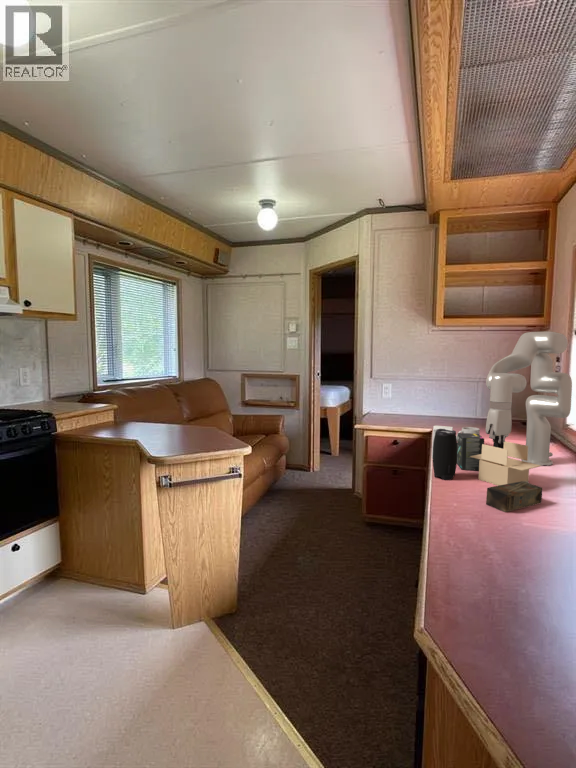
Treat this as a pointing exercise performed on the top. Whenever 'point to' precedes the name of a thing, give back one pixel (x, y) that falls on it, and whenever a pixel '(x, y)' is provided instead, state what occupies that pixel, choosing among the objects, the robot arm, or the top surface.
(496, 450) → the flap
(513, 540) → the top surface
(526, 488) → the beverage carton
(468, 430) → the mug
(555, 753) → the top surface
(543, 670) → the top surface
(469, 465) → the tampon box
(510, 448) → the flap
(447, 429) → the supplement box
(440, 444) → the portable speaker
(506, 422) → the robot arm
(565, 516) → the top surface
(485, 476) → the carton
